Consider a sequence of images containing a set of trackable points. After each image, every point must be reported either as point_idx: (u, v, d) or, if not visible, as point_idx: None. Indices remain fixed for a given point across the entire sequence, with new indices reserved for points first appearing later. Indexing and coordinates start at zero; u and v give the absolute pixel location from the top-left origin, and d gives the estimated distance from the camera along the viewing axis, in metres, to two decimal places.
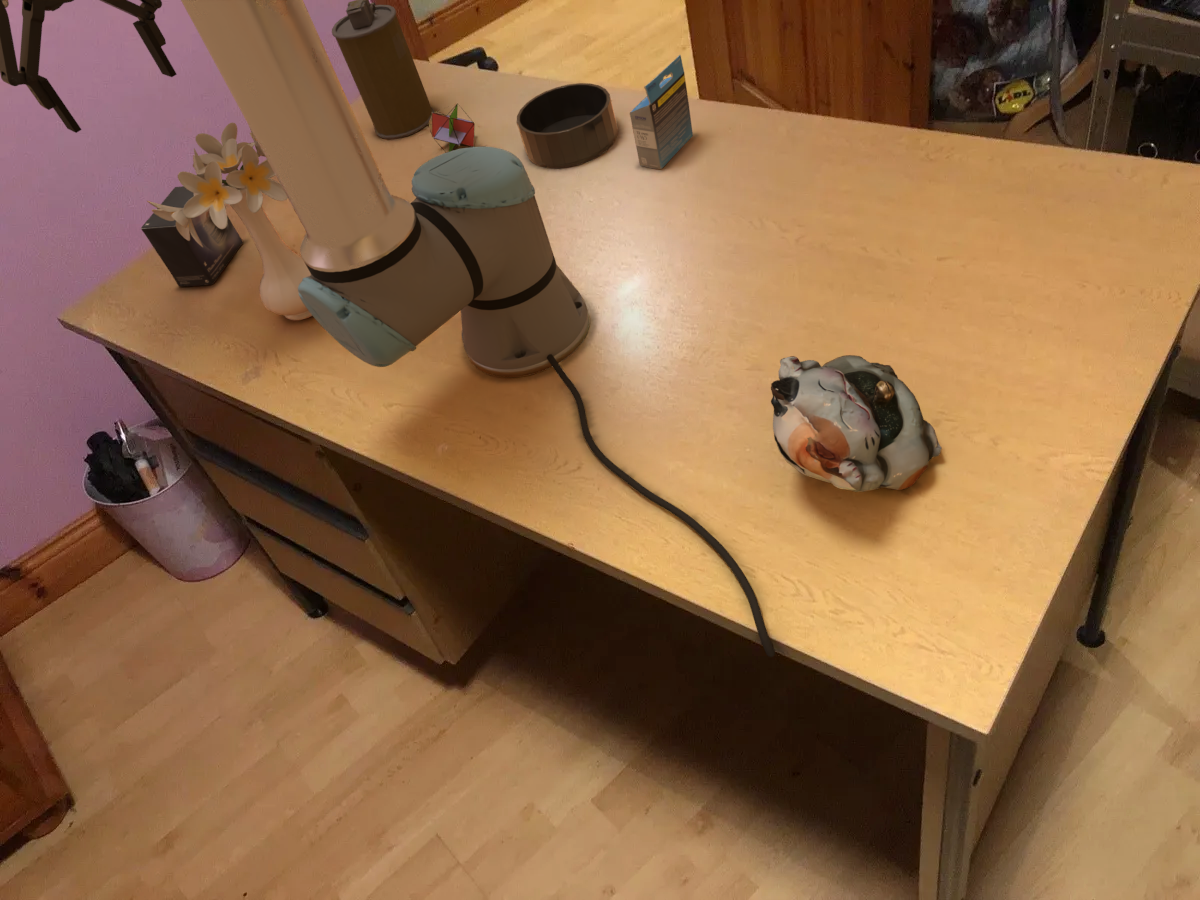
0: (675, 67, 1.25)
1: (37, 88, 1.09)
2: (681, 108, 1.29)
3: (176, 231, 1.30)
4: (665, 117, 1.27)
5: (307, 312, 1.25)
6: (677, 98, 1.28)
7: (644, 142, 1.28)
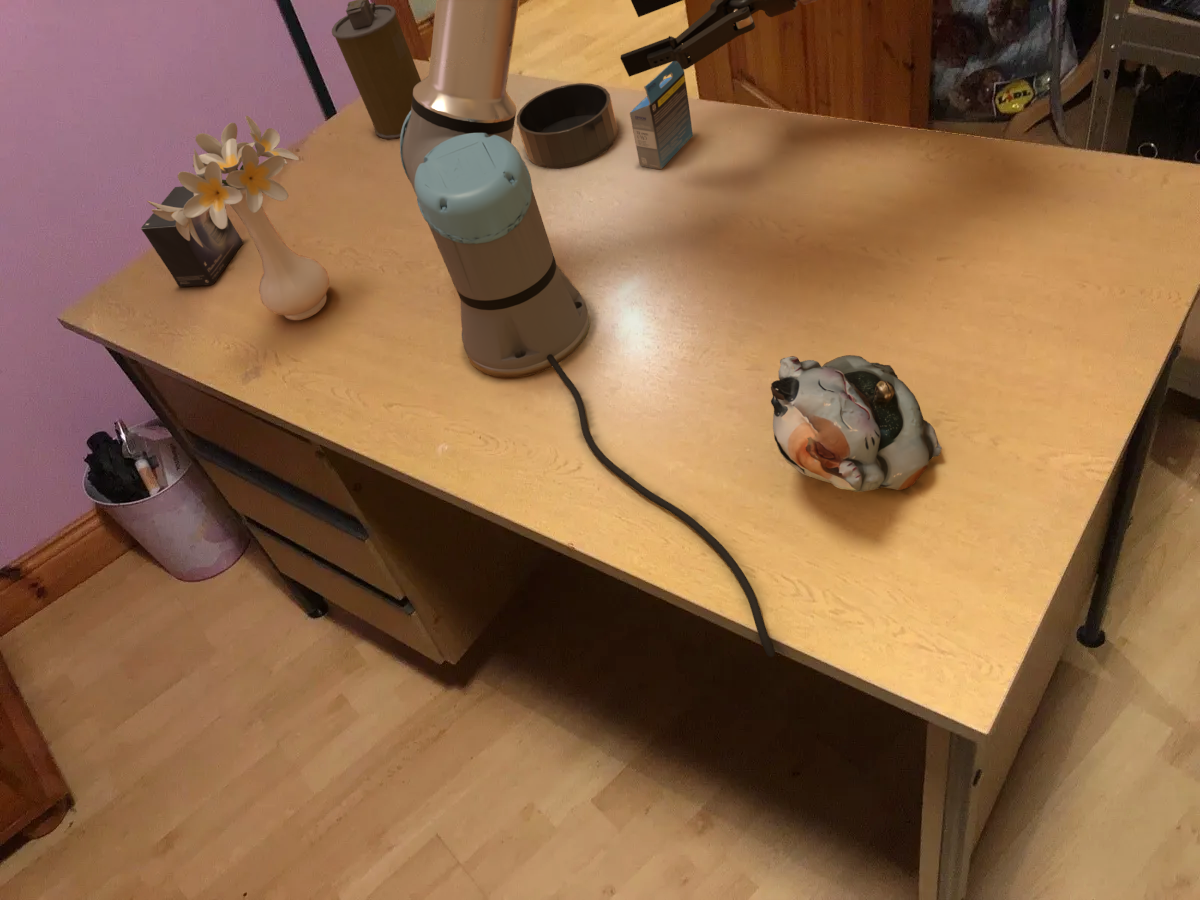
0: (675, 67, 1.25)
1: None
2: (681, 108, 1.29)
3: (176, 231, 1.30)
4: (665, 117, 1.27)
5: (307, 312, 1.25)
6: (677, 98, 1.28)
7: (644, 142, 1.28)
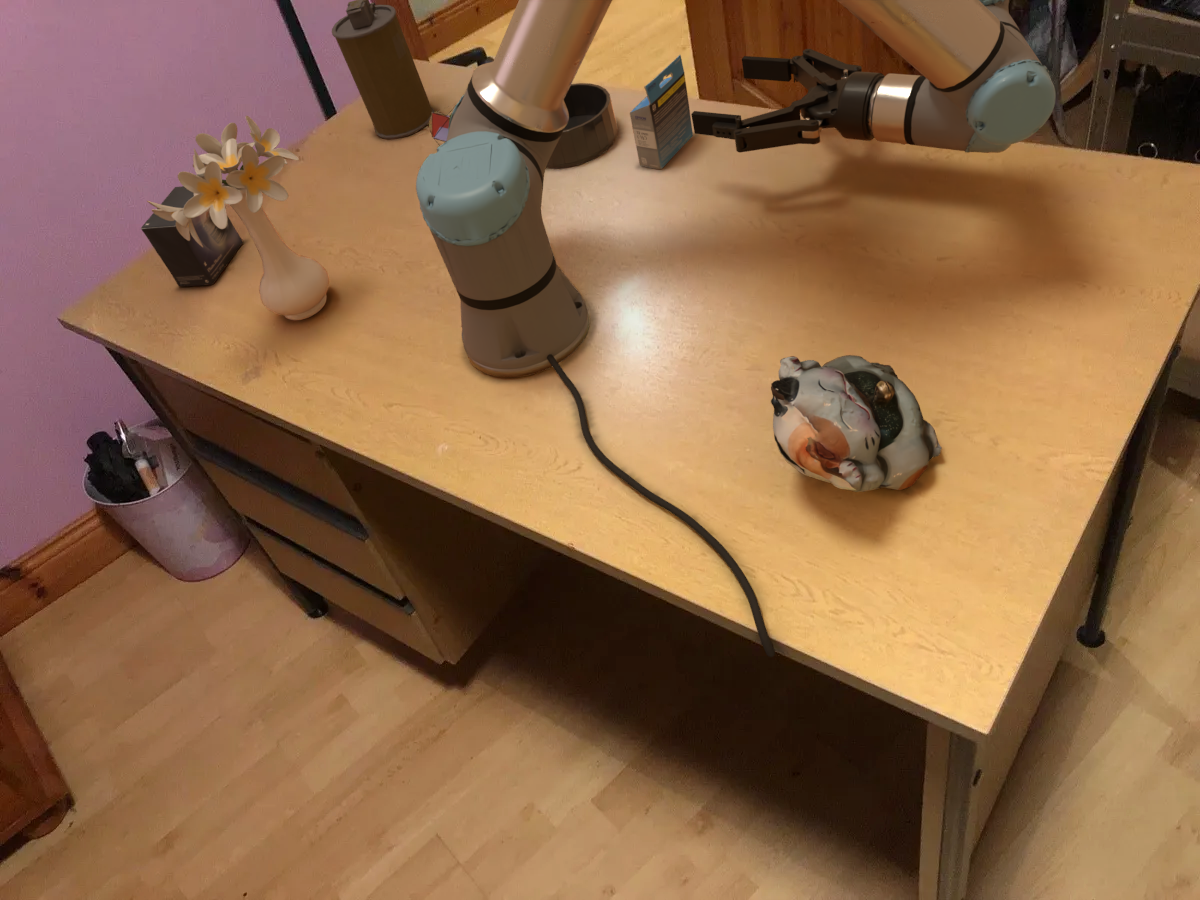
0: (675, 67, 1.25)
1: None
2: (681, 108, 1.29)
3: (176, 231, 1.30)
4: (665, 117, 1.27)
5: (307, 312, 1.25)
6: (677, 98, 1.28)
7: (644, 142, 1.28)
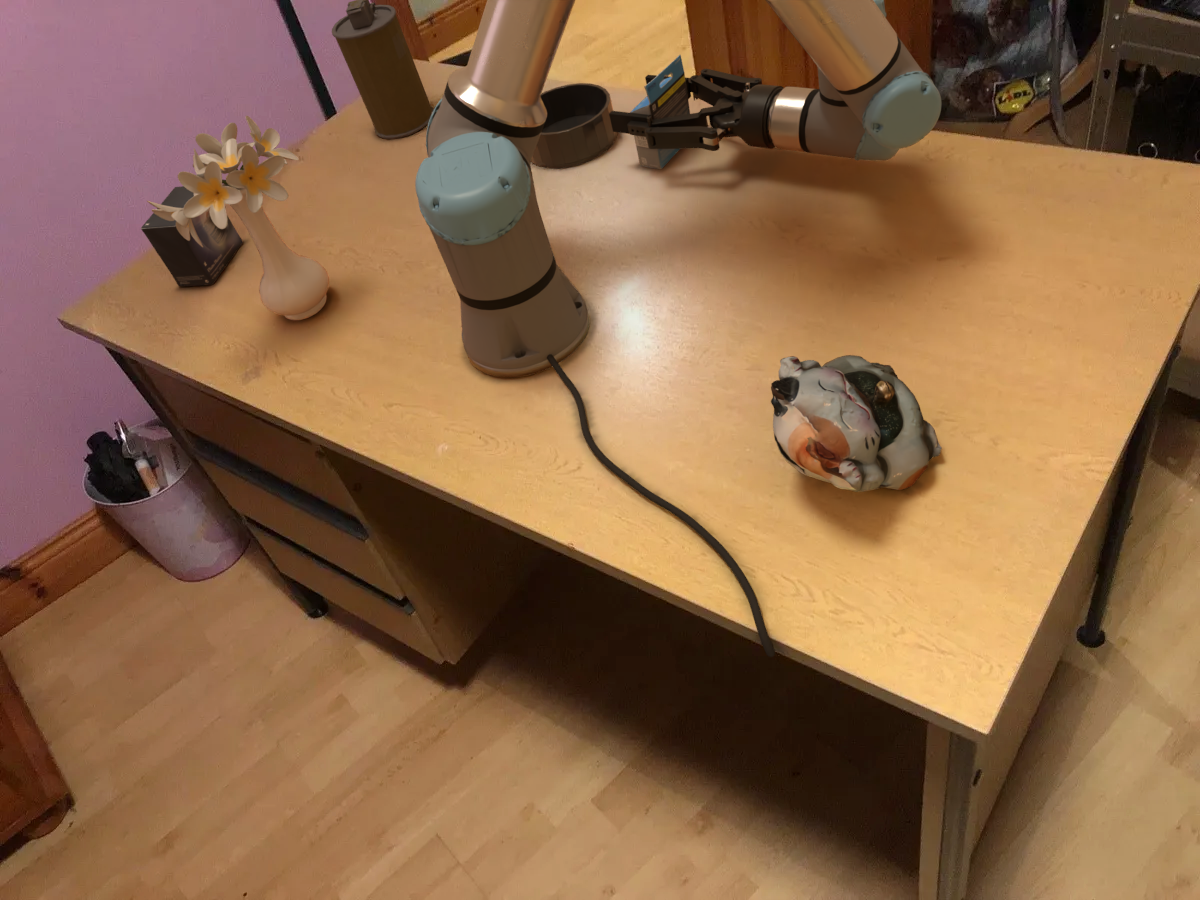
0: (675, 67, 1.25)
1: None
2: (681, 107, 1.29)
3: (176, 231, 1.30)
4: (665, 116, 1.27)
5: (307, 312, 1.25)
6: (677, 97, 1.28)
7: (644, 142, 1.28)
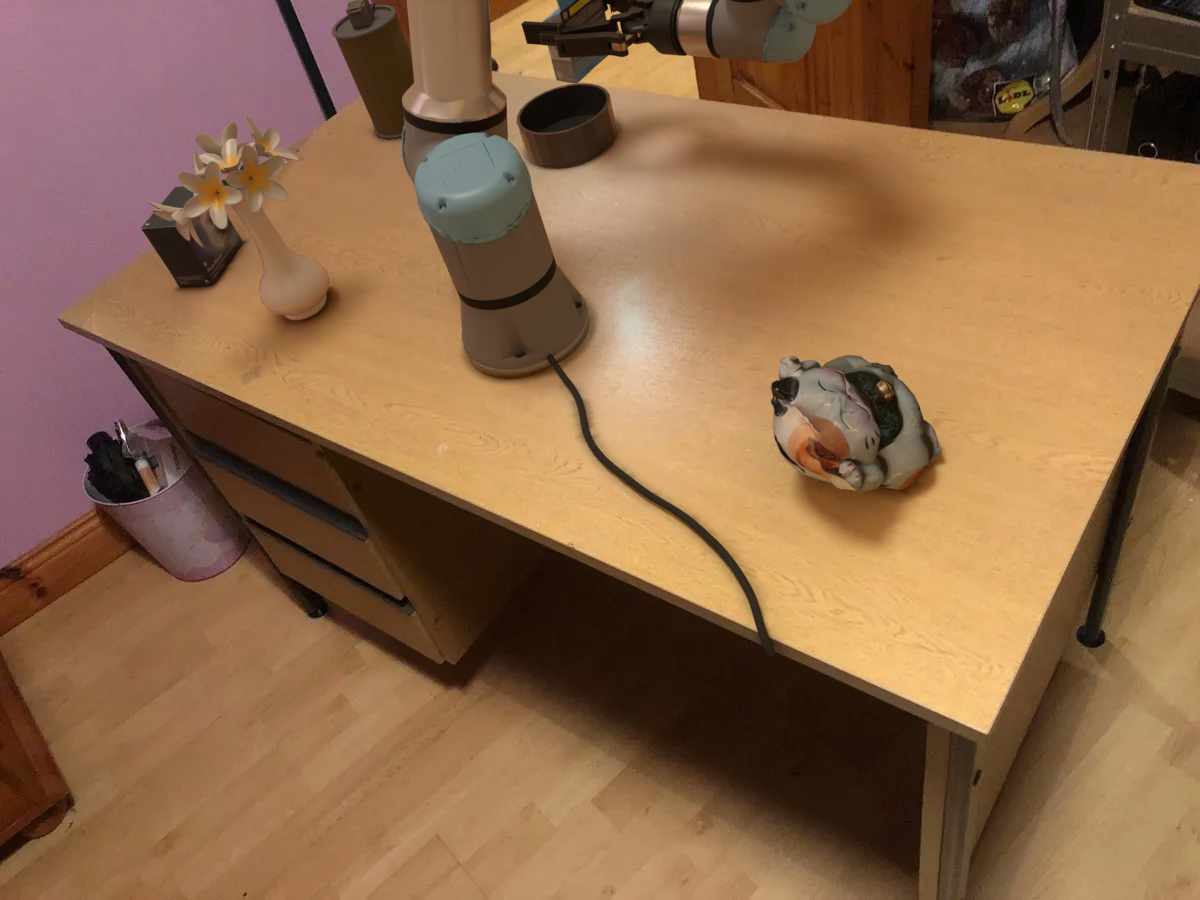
0: None
1: None
2: (597, 19, 1.26)
3: (176, 231, 1.30)
4: None
5: (307, 312, 1.25)
6: (592, 8, 1.24)
7: None
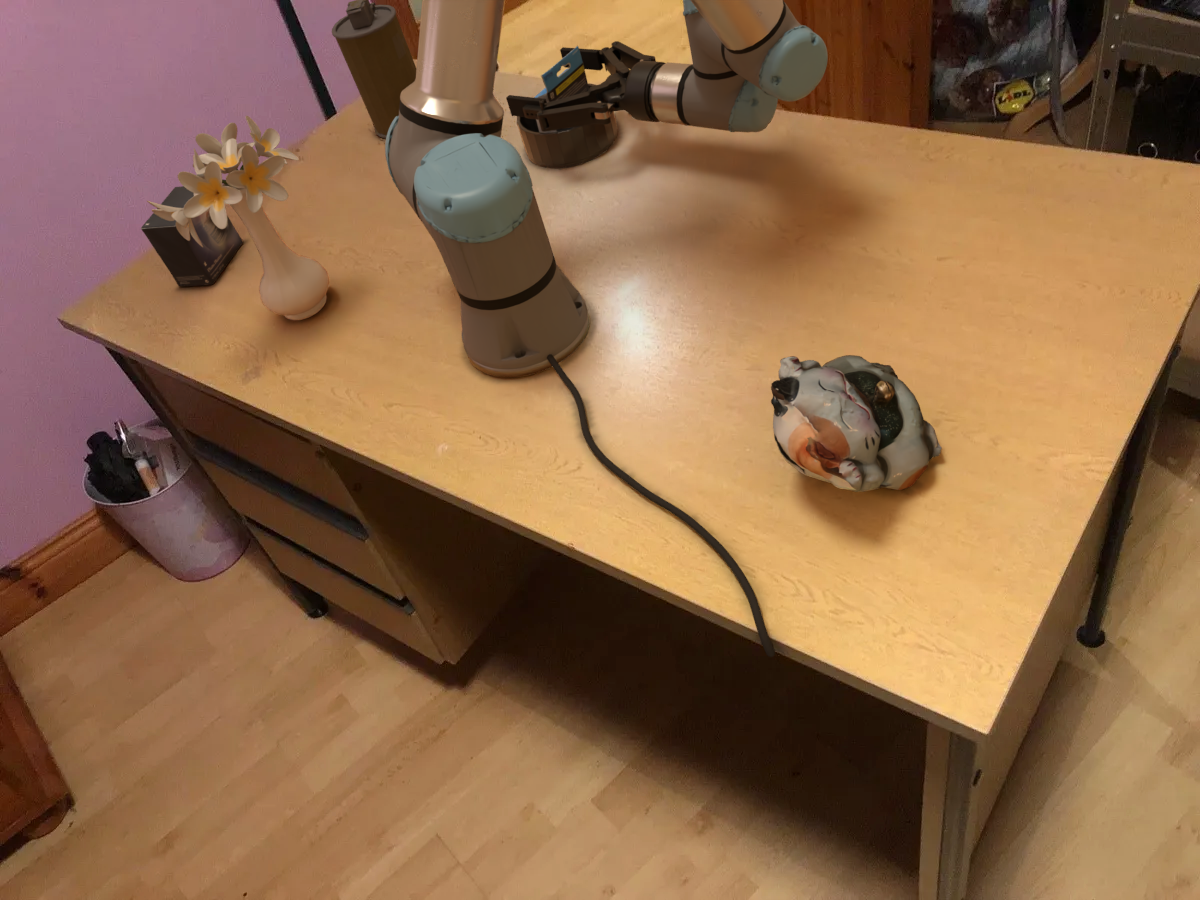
0: (573, 58, 1.33)
1: (598, 51, 1.36)
2: None
3: (176, 231, 1.30)
4: None
5: (307, 312, 1.25)
6: (576, 86, 1.35)
7: None
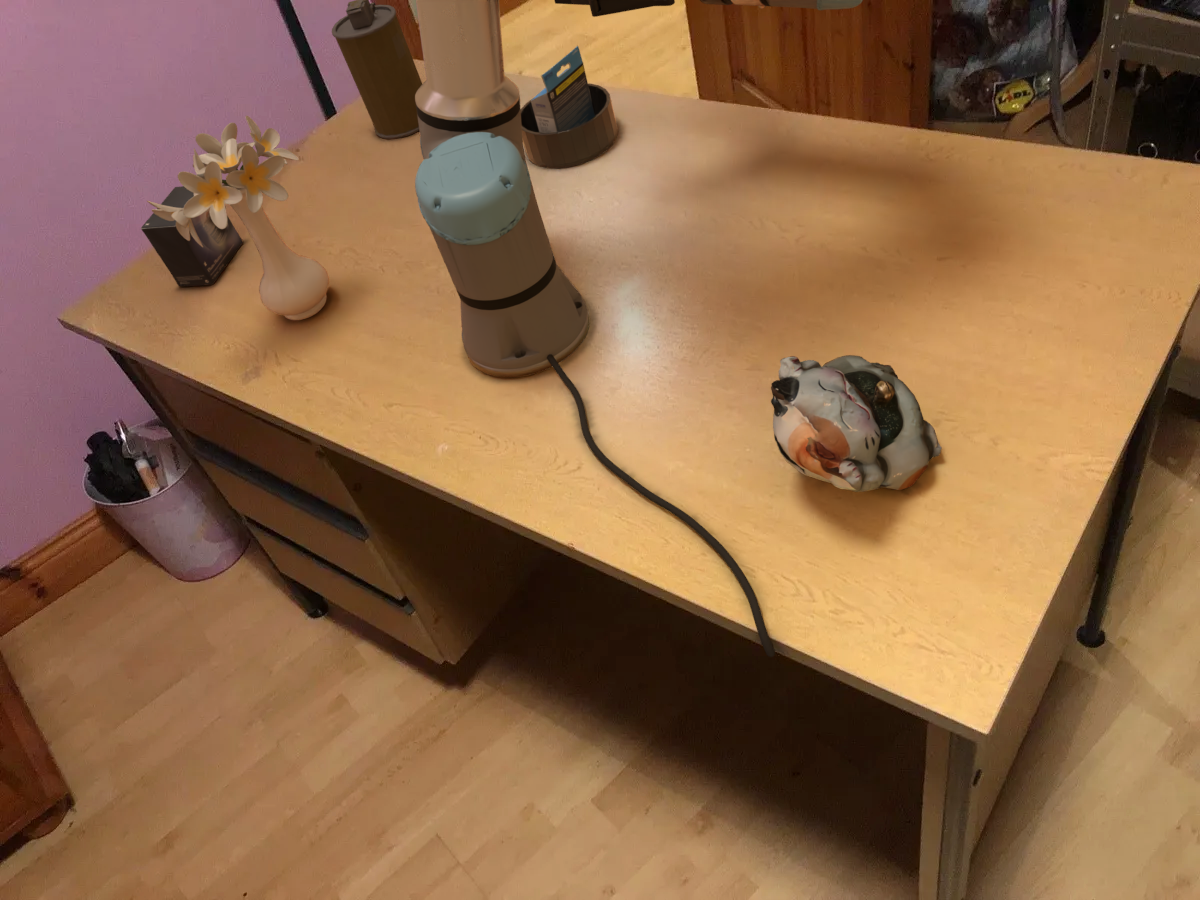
0: (573, 58, 1.33)
1: None
2: (582, 96, 1.37)
3: (176, 231, 1.30)
4: (564, 104, 1.34)
5: (307, 312, 1.25)
6: (576, 86, 1.35)
7: (546, 128, 1.36)
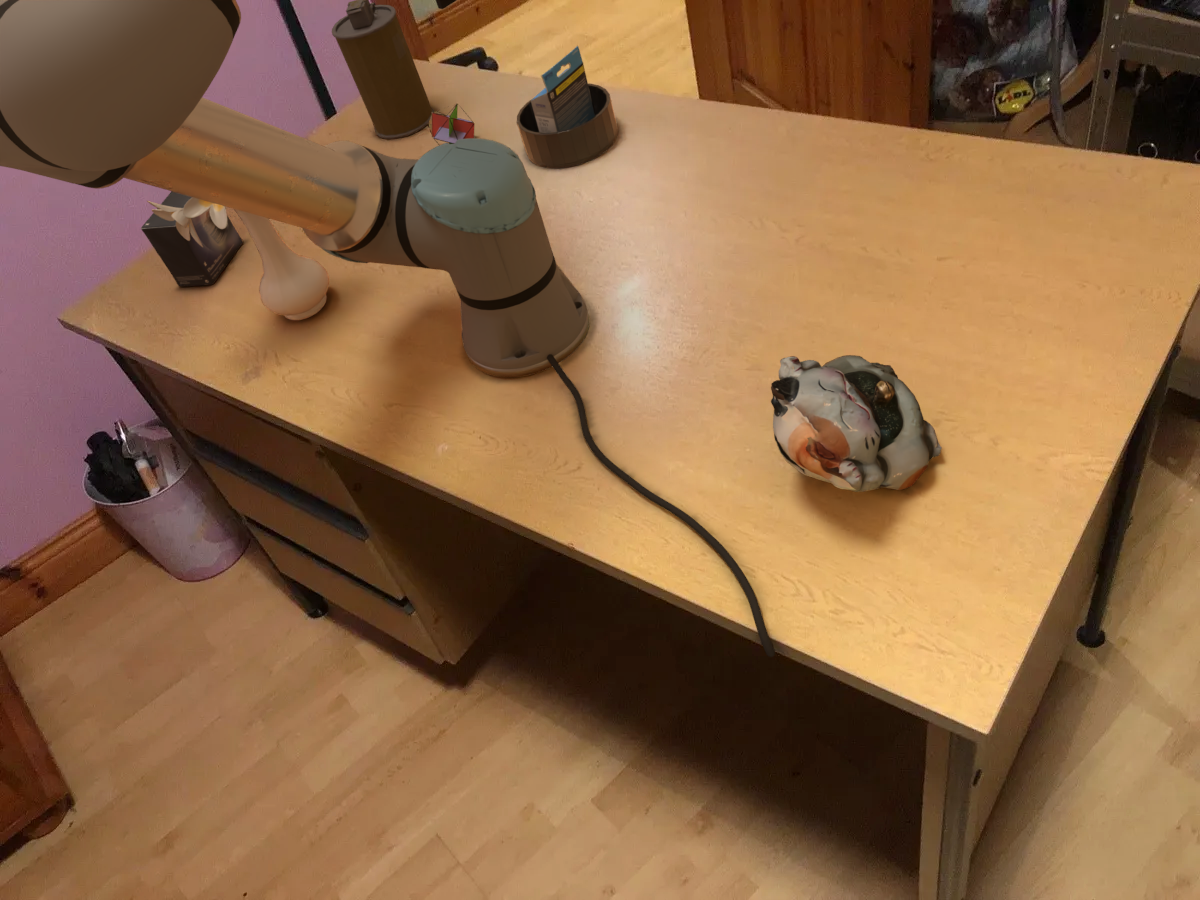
0: (573, 58, 1.33)
1: None
2: (582, 96, 1.37)
3: (176, 231, 1.30)
4: (564, 104, 1.34)
5: (307, 312, 1.25)
6: (576, 86, 1.35)
7: (546, 128, 1.36)
